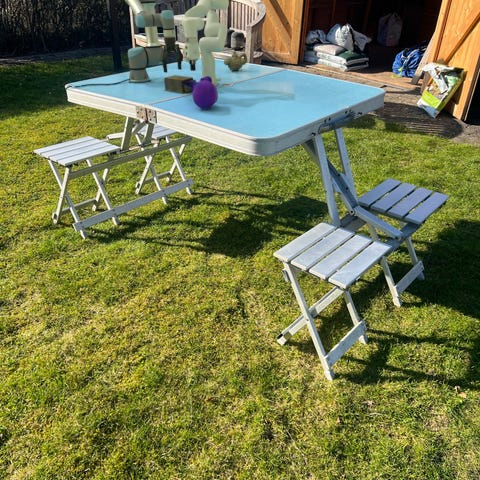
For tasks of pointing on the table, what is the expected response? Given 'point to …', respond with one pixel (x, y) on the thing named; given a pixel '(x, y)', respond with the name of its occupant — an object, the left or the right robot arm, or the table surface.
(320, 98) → the table surface
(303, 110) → the table surface
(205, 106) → the toy
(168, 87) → the brown block
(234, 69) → the teapot
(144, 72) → the left robot arm
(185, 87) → the drawer
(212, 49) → the right robot arm
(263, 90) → the table surface
